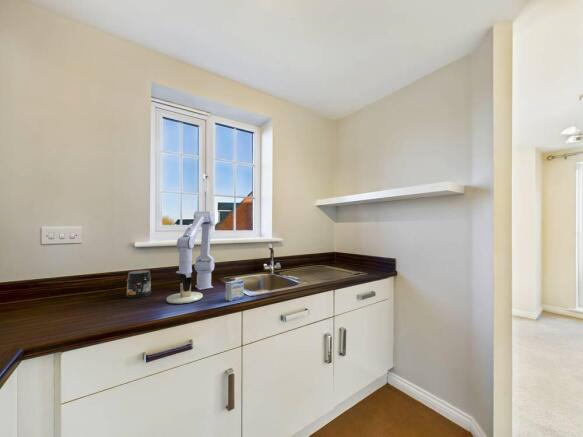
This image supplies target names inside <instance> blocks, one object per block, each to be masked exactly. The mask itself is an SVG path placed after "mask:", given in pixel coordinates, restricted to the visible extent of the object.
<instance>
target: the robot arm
mask: <svg viewBox="0 0 583 437" xmlns="http://www.w3.org/2000/svg"><path fill="white" fill-rule="evenodd" d="M214 224H215V214H214V212H213V211H212V210H208V211H207V210H202V211H201V210H195V212H194V213H193V221H192V223H191V226H188V227H187V228H186V230H185V232H184V233H183V235H182V236H181V237H178V238H177V241H176V247H177V252H178V270H177V271H175V272H176V274H177V277H178V279H179V283H180V284H181V283H183V289H184V292H185V291H189V289H190V284H191V285H192V281H193V280H194V275H192V272H193V268H192V267H193V263H192V262H193V248H194V247H195V242H196V237H197V236H198V234H199V228H200V227H201V239H200V255H198V256H197V257H196V258H195V262H194V270H195V271H196V273H197V274H196V285H195V288H196V289H197V290H198V291H199V290H205V289H213V288H214V286H213V285H212V272H213V271H214V269H215V258H214V257H213V256H212V255H210V251H211V250H210V248H211V232H212V227H213V226H214Z"/></svg>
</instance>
